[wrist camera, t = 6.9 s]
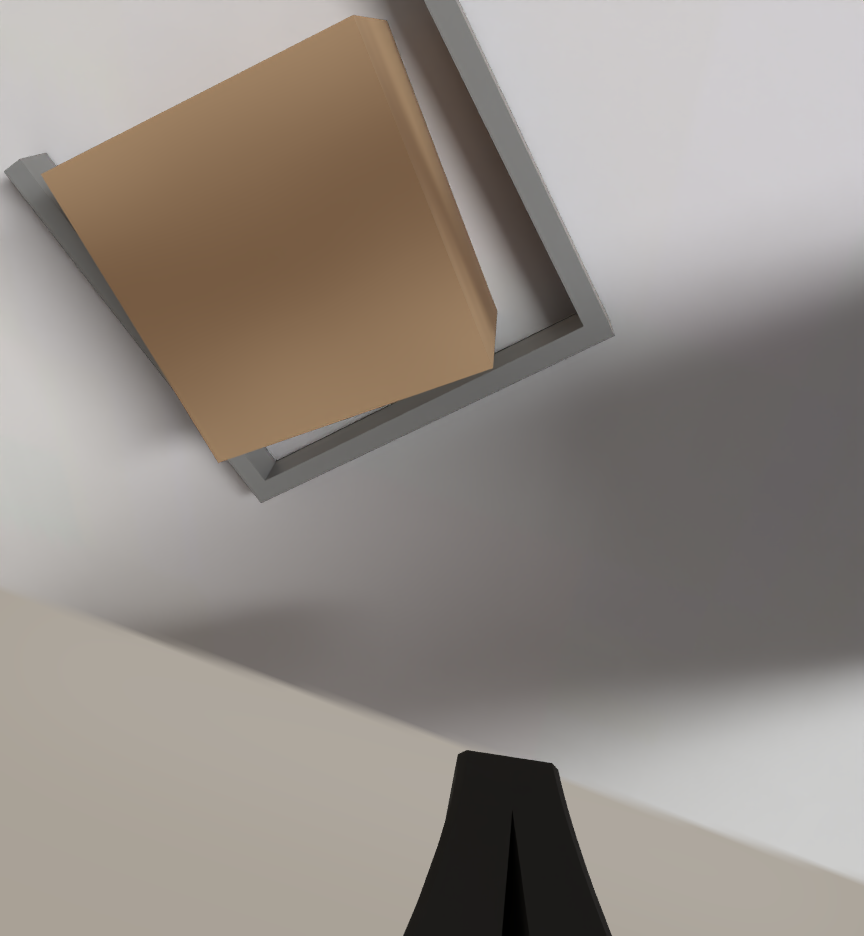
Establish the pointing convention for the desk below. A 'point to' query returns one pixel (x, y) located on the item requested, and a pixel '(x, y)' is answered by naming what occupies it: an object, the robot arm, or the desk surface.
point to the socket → (435, 403)
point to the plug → (288, 242)
